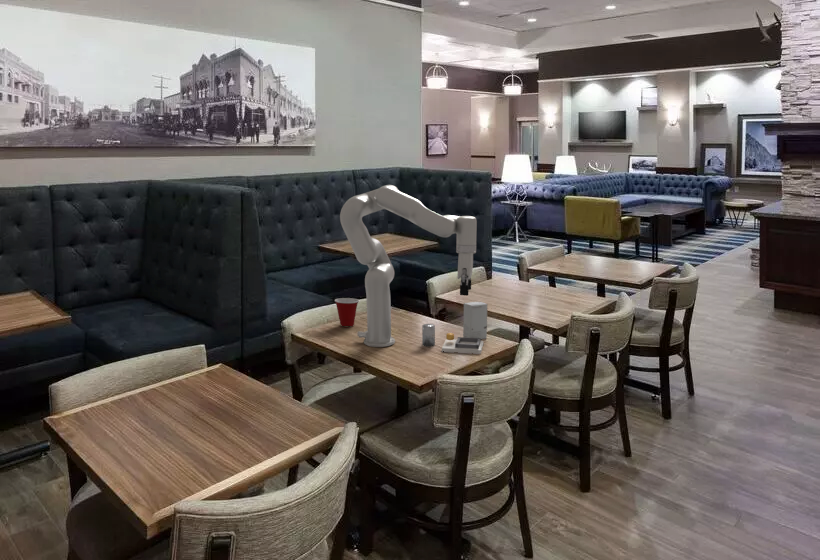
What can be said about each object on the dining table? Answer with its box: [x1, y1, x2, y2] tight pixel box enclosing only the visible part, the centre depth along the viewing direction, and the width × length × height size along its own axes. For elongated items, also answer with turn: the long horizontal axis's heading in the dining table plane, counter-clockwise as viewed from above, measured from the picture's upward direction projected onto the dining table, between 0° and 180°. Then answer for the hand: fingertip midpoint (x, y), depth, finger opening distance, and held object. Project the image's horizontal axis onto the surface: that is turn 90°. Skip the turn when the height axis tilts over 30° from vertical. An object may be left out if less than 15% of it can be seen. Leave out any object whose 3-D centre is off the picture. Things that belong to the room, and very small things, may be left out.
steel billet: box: [421, 323, 436, 348], centre depth 251 cm, size 5×5×8 cm
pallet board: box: [441, 336, 484, 355], centre depth 247 cm, size 15×12×3 cm
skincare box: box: [462, 301, 488, 340], centre depth 258 cm, size 8×6×15 cm
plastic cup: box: [334, 297, 360, 327], centre depth 278 cm, size 11×11×12 cm
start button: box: [445, 332, 455, 340], centre depth 249 cm, size 3×3×2 cm
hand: (465, 292), depth 244 cm, fingers open, 9 cm apart
